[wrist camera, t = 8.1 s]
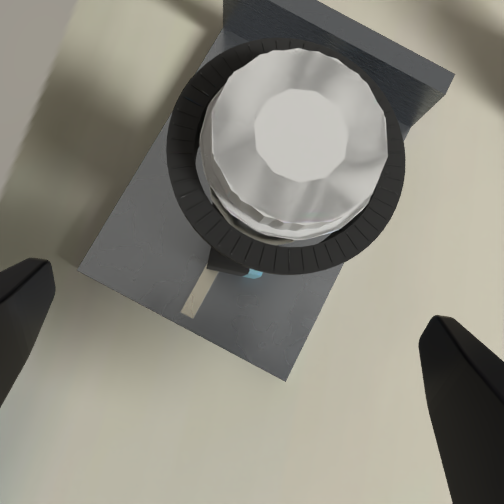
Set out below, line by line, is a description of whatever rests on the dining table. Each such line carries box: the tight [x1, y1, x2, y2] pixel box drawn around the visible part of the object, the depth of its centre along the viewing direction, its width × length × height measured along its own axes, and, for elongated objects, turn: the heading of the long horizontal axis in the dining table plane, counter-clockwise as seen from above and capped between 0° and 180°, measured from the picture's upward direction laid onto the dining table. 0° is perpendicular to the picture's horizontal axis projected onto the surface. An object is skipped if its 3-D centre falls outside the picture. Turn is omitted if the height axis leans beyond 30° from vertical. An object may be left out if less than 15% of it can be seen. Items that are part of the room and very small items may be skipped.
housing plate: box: [77, 0, 455, 382], centre depth 17 cm, size 14×10×4 cm
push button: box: [166, 38, 405, 279], centre depth 13 cm, size 7×5×10 cm
